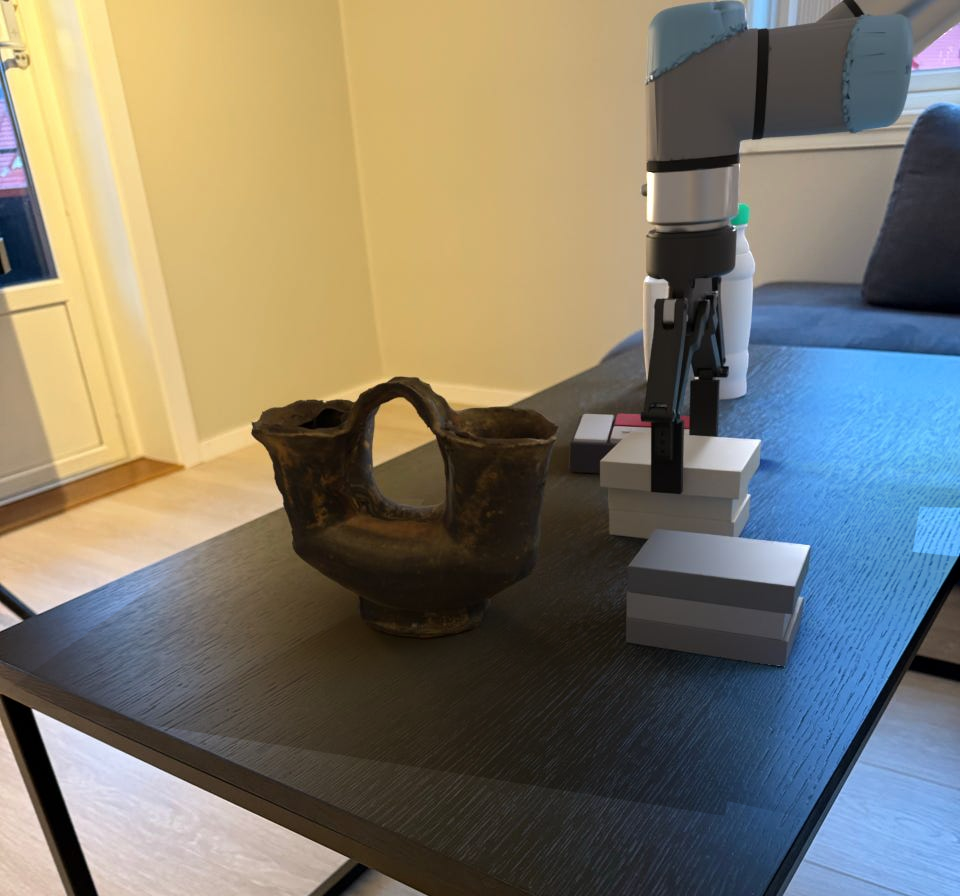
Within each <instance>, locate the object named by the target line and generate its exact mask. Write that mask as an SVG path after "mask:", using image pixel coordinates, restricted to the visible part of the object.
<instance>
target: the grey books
mask: <svg viewBox="0 0 960 896" xmlns="http://www.w3.org/2000/svg"><path fill="white" fill-rule="evenodd" d="M811 551H812V545H811V544H802V543H794V542H793V543H792V542H783V541H776V540H774V541H773V540H766V539H765V540H764V539H756V538H748V537H747V538H746V537H739V538H738V537H729V536H719V535H710V534H701V533H691V532H682V531H673V530H663V529H656V530H655V531H654V532H653V534H652V535H651V536H650V538H649V539H647V540H646V542H645V543H644V544H643V545H642V547H641V548H640V550H639V551H638V553H637V554H636V555H635V556H634V558H633V559H632V560H631V562H630V563H629V564H628V566H627V591H626V617H625V619H626V620H625V621H626V622H625V626H626V627H625V642H626V643H628V644H633V645H641V646H646V647H651V648H652V647H653V648H659V649H664V650H670V651H677V652H684V653H688V654H689V653H690V654H697V655H702V656H708V657H713V658H720V657H721V659H726V660H733V661H739V660H741V662H745V661H747V663H753V664H758V663H760V664H759V665H764V664H770V665H780V666H783V667H784V666H786V667H787V664H786V663H788V661H789V658H790V655H791V653H792V650H793V647H794V643H795V641H796V639H797V635H798V632H799V629H800V627H801V623H802V620H803V619H802V618H803V610H804V601H805V597H804V596H800V594H801V592H802V589H803V586H804V584H805V581H806V578H807V576H808V573H809V570H810V560H811ZM770 665H769V666H770ZM783 667H782V668H783Z"/></svg>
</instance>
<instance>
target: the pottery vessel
mask: <svg viewBox="0 0 960 896" xmlns="http://www.w3.org/2000/svg"><path fill="white" fill-rule="evenodd" d="M399 398H401V399H404V400H405V401H407V402H408V403H410V404H411V405H412V407H413V408H414V409H415V411H416V414H417V415H418V417H419V418H420V419H421V420H422V421H423V423H424V424H425V425H426V428H427V429H429V430H430V432H431V433H432V434H433V435H434V436H435V439H436V443H437V446H438V449H439V452H440V455H441V459H442V462H443V466H444V475H445V476H444V478H445V496H444V499H442V501H441V502H439V503H436V504H432V505H412V504H411V505H410V504H404V503H400V502H396V501H394V500H391V499H390V498H388V497H387V496H386V495H384V494H383V492H381V490H380V488H379V486H378V484H377V482H376V478H375V471H374V460H373V459H374V458H373V444H374V437H375V435H374V434H375V428H376V427H375V425H376V424H375V423H376V421H375V420H376V415H377V414H378V412H379V410H380V408H381V405H384V404H386V403H388V402H391V401H392V400H395V399H399ZM250 422H251V426H252V427H251V432H250V433H251V436H252V437H253V438H254V440H256V441H257V442H258V443H260V444H261V445H262V446H263V447H264V448H265V450H266V451H267V453H268V456H269V458H270V460H271V462H272V469H273V474H274V476H273V479H274V482H275V485H276V487H277V489H278V492H279V493H280V495H281V497H282V501H283V502H282V505H283V508H284V511H285V514H286V516H287V519H288V522H289V525H290V527H291V536H292V541H291V545H292V550H294V553H295V554H296V555H297V556H298V557H299V558H300V559H301V560H302V561H304V563H306V564H308V566H311V567H312V568H313V569H315V570H317V572H319V573H321V574H322V575H323V576H324V577H326V578H328V579H330V580H331V581H333V582H334V583H337V584H338V585H340V586H341V587H343V588H344V589H346V590H349V591H350V592H352V593H354V594H356V595H357V596H358V600H359V601H358V607H357V609H358V614H359V617H360V618H361V619H362V620H363V621H365V623H366V624H367V625H368V626H370V627H371V628H373V629H375V630H378V631H381V632H384V633H387V634H390V635H395V636H400V637H413V638H423V639H424V638H436V637H437V638H438V637H442V636H446V635H453V634H459V633H461V632H464V631H468V630H473V629H475V628H477V627H478V626H479V625H480V624H481V623H482V620H483V617H484V613H486V611H489V610H491V608H492V602H491V598H493V597H495V596H496V595H498V594H499V593H501V592H503V591H504V590H506V589H507V588H509V587H512V586H513V585H515V584H516V583H519V582H521V581H522V580H524V579H525V578H527V577H528V576H531V574H532V572H533V570H534V568H535V566H536V565H537V559H538V555H539V554H538V553H539V550H540V549H541V548H540V547H541V545H540V542H541V515H542V509H543V506H544V497H545V490H546V489H545V488H546V484H547V477H548V470H549V467H550V462H551V459H552V455H553V450H554V446H555V444H556V441H557V440H558V438H557V435H558V430H559V426H558V425H556V423H555V422H552V421H551V420H550V419H549V418H547V417H546V416H545V415H544V414H543V413H542V412H539V411H536V410H534V409H532V408H520V407H513V406H504V405H503V406H489V407H488V406H487V407H469V408H464V409H459V410H455V409H454V408H452V407H451V406H450V404H449V403H448V401H447V399H446V398H445V397H443V396H442V395H440V394H438V393H436V391H434V390H433V388H432V386H431V385H430V383H427V382H424V381H423V380H421V379H420V378H419V377H417V376H404V375H403V376H402V375H399V376H396V375H395V376H394V377H392V378H390V379H389V380H387V381H386V382H381V383H377V384H376V385H374V386H373V387H369V388H368V389H366V390H364V391H362V392H360V393H359V395H358V397H357V399H356V400H355V401H353V400H350V399H341V398H337V399H336V398H335V399H331V400H325V401H324V400H323V399H319V400H318V399H316V398H315V399H314V398H313V399H298V400H296V401H294V402H291V403H289V404H287V405H284V406H277V407H275V406H273V407H270V408H267V409H266V410H264V411H261V414H260V416H259V419H258V420H257V421H250Z"/></svg>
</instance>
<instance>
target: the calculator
mask: <svg viewBox="0 0 960 896" xmlns="http://www.w3.org/2000/svg"><path fill="white" fill-rule="evenodd" d="M689 418H690V415H681V419H680V420H684V435H689ZM631 431H633V432H648V433H651V422H641V413H639V414H638V413H617V415H616V416H614V414H600V413H599V414H598V413H584V414H583V415H580V416H579V418H578V421H577V423H576V426H575V428H574V430H573V433H572V436H571V438H570V440H569V446H568V447H569V448H568V449H569V452H568V471H569V472H570V473H583V474H600V461H601V460H602V459H603V458H604V457H605V456H606V455H607V454H608V453H609V452H610V451H611V450H612V449H613V448H614V447H615V446H616V445H617V444H618V443H619V442H620V441H621V440H622V439H623V438H624V437H625V436H626V435H627V434H628V433H629V432H631Z"/></svg>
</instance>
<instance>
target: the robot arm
mask: <svg viewBox="0 0 960 896" xmlns="http://www.w3.org/2000/svg"><path fill="white" fill-rule="evenodd" d="M959 24H960V0H841V1H840V2H839V3H837V4H836V5H835V6H834V7H832V8H831V9H830V10H829V11H827V12H826V13H824V14H823V16H821V17H820V18H818V20H816V22H809V23H802V24H794V25H788V26H782V27H774V28H768V27H767V28H766V27H765V28H764V27H763V28H757V27H755V28H754V27H753V28H749V21H748V20H747V8H746V6H745V4H744V3H743V2H742V1H739V0H718V1H705V2H696V3H688V4H682V5H681V4H680V5H676V6H672V7H669V8H665V9H662V10H661V11H659V12H658V13H656V14H655V16H653V18H652V19H651V21H650V23H649V24H648V29H647V43H646V44H647V45H646V67H645V68H646V70H645V71H646V72H645V78H644V85H645V86H644V87H645V89H644V90H645V94H644V95H645V154H646V155H645V158H646V165H645V166H646V183H644V184H642V185H641V187H640V194H641V196H642V197H646V222H647V223H648V225H649V224H650V225H652V226H653V229H650V230H649V231H648V233H647V234H646V235H645V272H646V275H647V276H650V277H651V278H654V279H664V280H666V281H667V282H668V286H669V287H668V289H667V298H666V299H665V298H663V299H656V301H655V304H654V309H655V311H654V332H653V340H652V347H651V355H650V363H649V371H648V379H647V378H646V386H645V387H646V388H645V396H644V404H643V410H642V411H640V414H641V422H651V492H656V493H670V494H681V493H682V492H683V455H684V420H680V419H681V416H682V411H683V407H684V402H685V401H684V400H685V397H686V396H685V395H686V391H687V384H688V381H689V375H690V370H692V374H693V376H694V378H692V379H690V381H689V384H690V385H689V416H690V418H689V435H694V436H710V437H719V415H720V414H719V412H720V411H719V410H720V401H719V389H720V380H716V377H717V378H727V377H728V374H729V366H724V364H725V363H726V358H725V346H724V333H723V320H722V306H721V281H722V277H721V276H722V275H726V274H728V273H730V272H731V271H732V270H733V269H734V268H735V263H736V240H737V229H736V228H735V226H734V225H732V224H731V219H733V218H735V217H736V216H737V215H738V210H739V203H740V179H741V163H740V162H741V153H740V152H741V145H742V141H749V140H752V141H756V140H762V139H769V138H771V139H772V138H787V137H802V136H804V137H805V136H817V135H827V134H838V133H850V134H856V133H861V132H863V131H866V130H867V131H868V130H875V129H881V128H888V127H890V126H892V125H894V124H895V123H896V122H897V121H898V120H899V119H900V117H901V115H902V114H903V111H904V109H905V106H906V102H907V98H908V94H909V88H910V83H911V75H912V68H913V59H915V58H916V57H917V56H919V55H920V54H922V52H924V51H925V50H926V49H927V48H929V47H930V46H932V45H933V44H934V43H936V41H938V40H940V38H942V37H943V36H944V35H946V34H947V33H949V32H950V31H951V30H952V29H954V28H955V27H956V26H958V25H959ZM695 377H699V379H695ZM663 405H666V406H663Z"/></svg>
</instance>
